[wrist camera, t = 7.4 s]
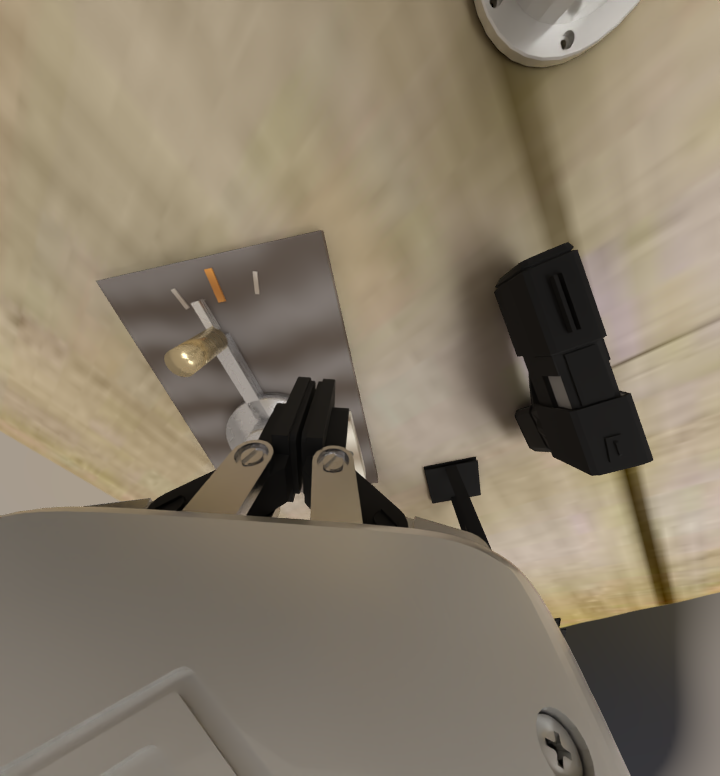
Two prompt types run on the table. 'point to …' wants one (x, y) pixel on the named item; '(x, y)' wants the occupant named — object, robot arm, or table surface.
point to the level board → (246, 332)
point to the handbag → (460, 494)
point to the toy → (568, 367)
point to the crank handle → (214, 343)
